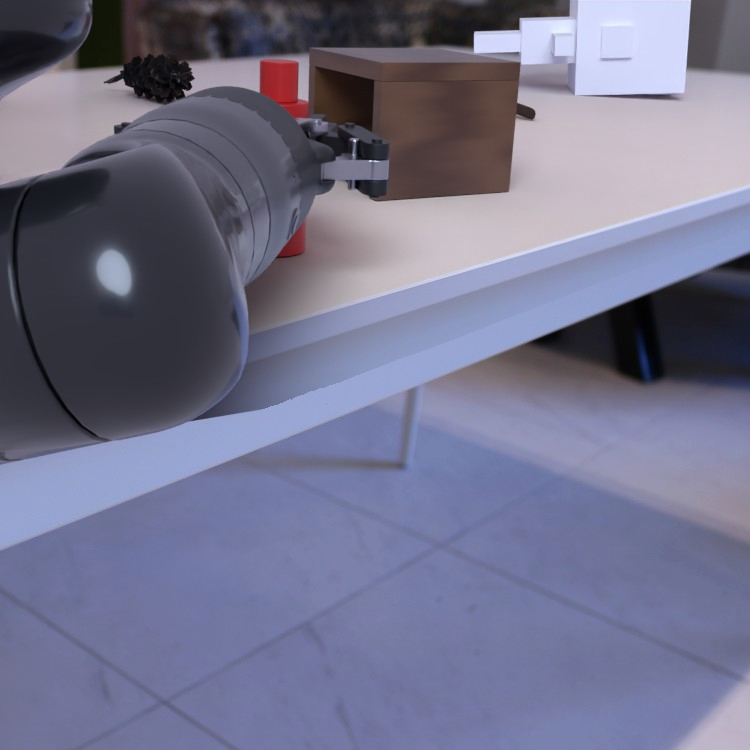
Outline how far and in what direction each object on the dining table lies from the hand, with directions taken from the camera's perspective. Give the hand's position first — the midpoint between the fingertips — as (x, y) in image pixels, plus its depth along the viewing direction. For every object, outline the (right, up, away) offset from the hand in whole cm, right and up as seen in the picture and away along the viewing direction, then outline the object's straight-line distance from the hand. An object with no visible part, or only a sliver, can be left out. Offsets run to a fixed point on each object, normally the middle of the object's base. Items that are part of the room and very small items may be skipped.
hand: (287, 131), depth 58 cm
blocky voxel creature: (+32, +25, +86) cm, 95 cm away
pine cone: (-20, +16, +56) cm, 62 cm away
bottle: (-1, -7, 0) cm, 7 cm away
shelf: (+7, +1, +20) cm, 21 cm away
